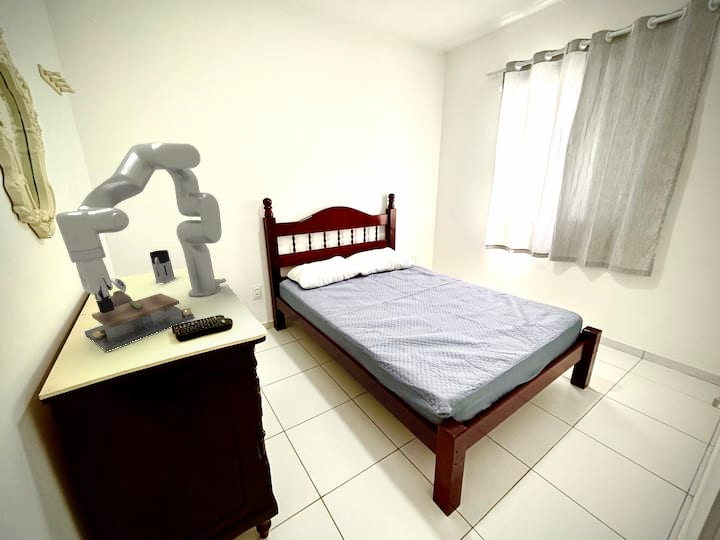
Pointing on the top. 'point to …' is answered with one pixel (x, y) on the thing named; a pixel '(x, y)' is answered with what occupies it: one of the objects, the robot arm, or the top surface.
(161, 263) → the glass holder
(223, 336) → the top surface
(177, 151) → the robot arm
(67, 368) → the top surface
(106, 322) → the plate
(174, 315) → the base
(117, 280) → the watch
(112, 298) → the vase
